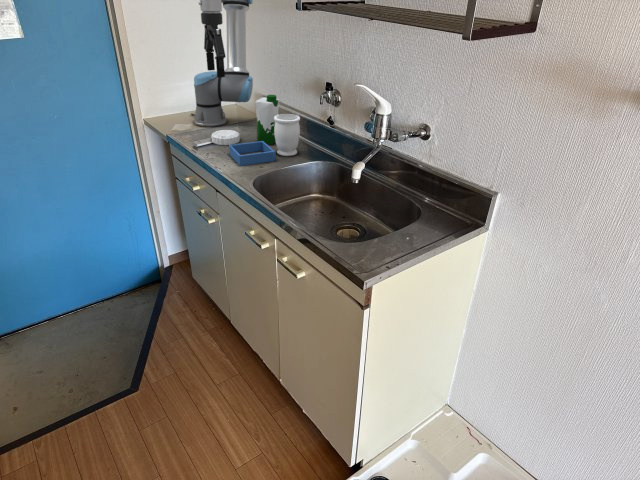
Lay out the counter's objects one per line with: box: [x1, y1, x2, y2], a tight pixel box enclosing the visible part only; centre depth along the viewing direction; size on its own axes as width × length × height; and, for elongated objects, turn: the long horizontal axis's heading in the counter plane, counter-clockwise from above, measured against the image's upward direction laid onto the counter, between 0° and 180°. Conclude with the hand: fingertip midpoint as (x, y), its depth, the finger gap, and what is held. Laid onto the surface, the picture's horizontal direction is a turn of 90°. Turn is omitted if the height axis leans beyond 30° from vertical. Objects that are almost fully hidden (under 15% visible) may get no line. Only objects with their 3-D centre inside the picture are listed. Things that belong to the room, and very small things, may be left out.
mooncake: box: [210, 129, 241, 146], centre depth 205 cm, size 12×12×4 cm
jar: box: [274, 113, 301, 157], centre depth 192 cm, size 11×10×15 cm
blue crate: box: [228, 141, 276, 167], centre depth 189 cm, size 14×15×4 cm
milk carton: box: [254, 94, 280, 146], centre depth 203 cm, size 9×9×20 cm
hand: (216, 73), depth 180 cm, fingers open, 13 cm apart
